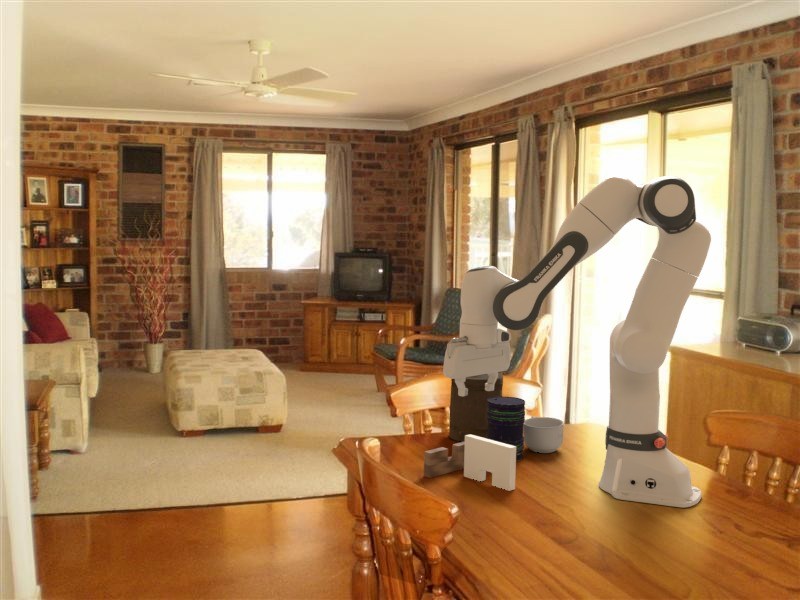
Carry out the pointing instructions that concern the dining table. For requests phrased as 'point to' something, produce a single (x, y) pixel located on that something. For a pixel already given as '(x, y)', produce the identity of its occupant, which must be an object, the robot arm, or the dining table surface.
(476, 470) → the white arch block
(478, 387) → the wooden container
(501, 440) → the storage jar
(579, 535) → the dining table surface
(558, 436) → the teacup
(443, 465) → the grey notched block
